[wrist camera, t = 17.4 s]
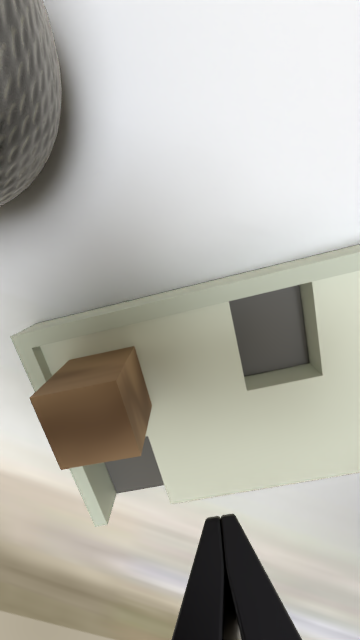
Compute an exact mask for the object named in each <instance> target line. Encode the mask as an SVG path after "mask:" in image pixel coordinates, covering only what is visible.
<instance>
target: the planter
mask: <svg viewBox="0 0 360 640" xmlns="http://www.w3.org/2000/svg"><path fill="white" fill-rule="evenodd" d="M61 99H62V86H61V74H60V65H59V60H58V55H57V50H56V45H55V40H54V36H53V32H52V28H51V24H50V21H49V17H48V14H47V11H46V8H45V5H44V2H43V0H0V206H2V205H4V204H5V203H7V202H9V201H11V200H12V199H14V198H16V197H17V196H18V195H19V194H21V193H22V192H23V191H24V190H25V189H26V188H27V187H29V186H30V185H31V184H32V182H33V181H34V180H35V179H36V177H37V176H38V175H39V174H40V172H41V171H42V169H43V167H44V166H45V164H46V162H47V160H48V158H49V156H50V154H51V151H52V149H53V146H54V143H55V140H56V137H57V132H58V127H59V122H60V116H61Z"/></svg>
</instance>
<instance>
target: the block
mask: <svg viewBox="0 0 360 640" xmlns="http://www.w3.org/2000/svg"><path fill="white" fill-rule="evenodd" d="M30 400H31V403H32V405H33V407H34V410H35V412H36V414H37V416H38V419H39V421H40V423H41V426H42V428H43V430H44V432H45V435H46V437H47V439H48V442H49V444H50V446H51V448H52V451H53V453H54V455H55V458H56V460H57V462H58V464H59V467H60V469H61V470H63V469H69V468H74V467H80V466H86V465H92V464H98V463H103V462H109V461H115V460H121V459H126V458H132V457H138V456H141V454H142V449H143V445H144V440H145V436H146V431H147V427H148V422H149V418H150V413H151V408H152V403H151V400H150V397H149V393H148V390H147V387H146V383H145V380H144V377H143V373H142V370H141V366H140V363H139V360H138V356H137V353H136V350H135V346H132V347H127V348H123V349H118V350H113V351H109V352H104V353H99V354H94V355H90V356H85V357H80V358H76V359H71V360H68V361H67V362H66V363H65V364H64V365H63V366H62V367H61V368H60V369H59V370H58V371H57V372H56V373H55V374H54V375H53V376H52V377H51V378H50V379H49V380H48V381H47V382H46V383H45V384H43V385H42V386H41V387H40V388H39V389H38V390H37V391H36V392H35V393H34V394H33V395H32V396H31V397H30Z"/></svg>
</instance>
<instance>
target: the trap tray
mask: <svg viewBox="0 0 360 640" xmlns="http://www.w3.org/2000/svg"><path fill="white" fill-rule="evenodd" d="M11 339H12V342H13V344H14V346H15V348H16V351H17V353H18V355H19V357H20V360H21V362H22V364H23V366H24V369H25V371H26V373H27V375H28V378H29V380H30V382H31V384H32V386H33V389H34V391H35V392H36V391H37V390H38V389H39V388H40V387H41V386H42V385H43V384H45V383H46V382H47V381H48V380H49V379H50V378H51V377H52V376H53V375H54V374H55V373H56V372H57V371H58V370H59V369H60V368H61V367H62V366H63V365H64V364H65V363H66V362H67V361H68V360H71V359H76V358H80V357H85V356H90V355H94V354H99V353H104V352H109V351H113V350H118V349H123V348H127V347H132V346H135V350H136V353H137V356H138V360H139V363H140V366H141V370H142V373H143V377H144V380H145V383H146V387H147V390H148V393H149V397H150V400H151V403H152V408H151V413H150V418H149V422H148V427H147V431H146V436H145V440H144V445H143V449H142V454H141V456H138V457H132V458H126V459H121V460H115V461H109V462H103V463H98V464H92V465H86V466H80V467H74V468H69V469H70V471H71V474H72V476H73V478H74V480H75V483H76V485H77V487H78V489H79V492H80V494H81V496H82V498H83V500H84V503H85V505H86V507H87V509H88V512H89V514H90V516H91V518H92V521H93V523H94V525H95V527H97V526H103V525H108V521H109V518H110V514H111V511H112V507H113V504H114V500H115V497H116V493H121V492H127V491H133V490H139V489H144V488H150V487H156V486H161V485H165V488H166V491H167V494H168V497H169V500H170V503H171V504H176V503H182V502H188V501H194V500H200V499H206V498H212V497H217V496H223V495H229V494H235V493H241V492H247V491H253V490H259V489H265V488H271V487H277V486H283V485H289V484H295V483H301V482H307V481H313V480H319V479H325V478H331V477H337V476H343V475H349V474H355V473H360V244H359V245H355V246H351V247H347V248H343V249H339V250H335V251H331V252H327V253H322V254H318V255H314V256H310V257H306V258H302V259H298V260H294V261H290V262H286V263H282V264H278V265H273V266H269V267H265V268H261V269H257V270H253V271H249V272H245V273H241V274H237V275H233V276H229V277H224V278H220V279H216V280H212V281H208V282H204V283H200V284H196V285H192V286H188V287H184V288H180V289H175V290H171V291H167V292H163V293H159V294H155V295H151V296H147V297H143V298H139V299H135V300H131V301H126V302H122V303H118V304H114V305H110V306H106V307H102V308H98V309H94V310H90V311H86V312H82V313H78V314H73V315H69V316H65V317H61V318H57V319H53V320H49V321H45V322H41V323H37V324H34V325H32V326H30V327H28V328H26V329H24V330H22V331H21V332H19V333H17V334H15V335H13V336H11Z"/></svg>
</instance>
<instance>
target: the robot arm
mask: <svg viewBox="0 0 360 640" xmlns="http://www.w3.org/2000/svg"><path fill="white" fill-rule="evenodd" d="M241 639H242V640H302V639H301V637H300V635H299V633H298V631H297V629H296V628H295V626H294V624H293V622H292V620H291V618H290V616H289V615H288V613H287V611H286V609H285V607H284V605H283V603H282V602H281V600H280V598H279V596H278V594H277V592H276V590H275V588H274V587H273V585H272V583H271V581H270V579H269V577H268V575H267V574H266V572H265V570H264V568H263V566H262V564H261V562H260V561H259V559H258V557H257V555H256V553H255V551H254V549H253V548H252V546H251V544H250V542H249V540H248V538H247V536H246V535H245V533H244V531H243V529H242V527H241V525H240V523H239V522H238V520H237V518H236V516H235V515H234V514H228V515H223V516H221V518H220V517H219V516H215V517H209V518H207V519H206V521H205V524H204V527H203V531H202V534H201V538H200V541H199V545H198V548H197V552H196V555H195V559H194V562H193V566H192V569H191V573H190V577H189V580H188V584H187V587H186V591H185V594H184V598H183V601H182V605H181V608H180V612H179V615H178V619H177V622H176V626H175V629H174V633H173V636H172V640H241Z"/></svg>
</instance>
